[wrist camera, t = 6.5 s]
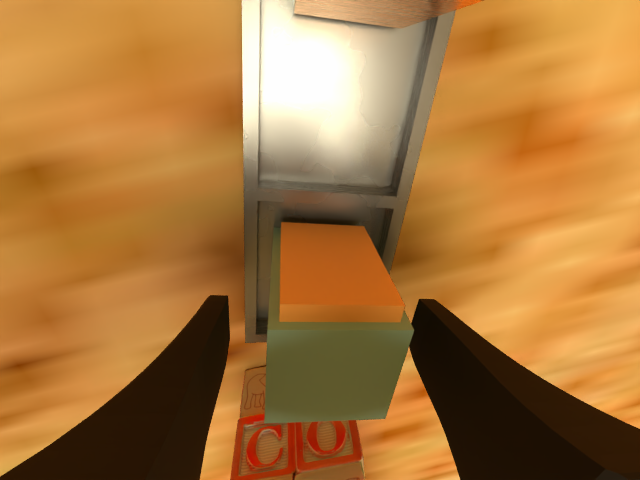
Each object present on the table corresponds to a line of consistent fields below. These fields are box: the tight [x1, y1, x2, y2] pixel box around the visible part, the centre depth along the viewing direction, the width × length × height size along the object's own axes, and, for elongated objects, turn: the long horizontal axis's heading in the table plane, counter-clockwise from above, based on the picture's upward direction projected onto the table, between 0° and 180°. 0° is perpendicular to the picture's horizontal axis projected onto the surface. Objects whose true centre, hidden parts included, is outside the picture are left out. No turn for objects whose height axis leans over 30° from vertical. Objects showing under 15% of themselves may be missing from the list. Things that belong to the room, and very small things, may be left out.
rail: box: [242, 0, 483, 343], centre depth 10 cm, size 6×19×7 cm, turn 174°
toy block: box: [264, 222, 414, 424], centre depth 12 cm, size 4×5×6 cm
